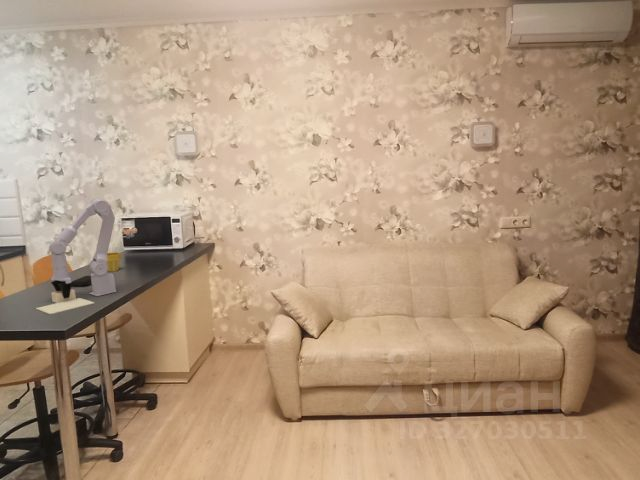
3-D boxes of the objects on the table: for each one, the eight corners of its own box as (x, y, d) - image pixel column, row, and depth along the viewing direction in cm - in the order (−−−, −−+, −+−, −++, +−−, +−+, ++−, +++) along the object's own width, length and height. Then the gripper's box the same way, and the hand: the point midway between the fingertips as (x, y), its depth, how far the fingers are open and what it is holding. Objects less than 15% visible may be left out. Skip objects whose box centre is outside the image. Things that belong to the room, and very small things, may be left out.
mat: (79, 298, 210) (79, 297, 210) (94, 303, 201) (94, 302, 201) (36, 309, 196) (35, 308, 196) (50, 314, 187) (50, 313, 187)
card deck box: (71, 297, 213) (70, 288, 212) (75, 298, 210) (74, 290, 209) (52, 301, 207) (51, 292, 206) (56, 303, 204) (55, 294, 203)
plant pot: (125, 268, 272) (123, 252, 271) (116, 272, 262) (114, 255, 260) (108, 268, 273) (107, 252, 272) (98, 272, 263) (97, 255, 261)
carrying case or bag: (84, 280, 246) (66, 288, 232) (83, 275, 246) (65, 282, 231) (103, 280, 245) (86, 287, 231) (102, 274, 245) (85, 281, 230)
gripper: (43, 267, 207) (47, 296, 210) (57, 270, 198) (61, 301, 201) (60, 264, 213) (63, 293, 215) (74, 267, 204) (78, 297, 206)
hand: (63, 297), depth 208 cm, fingers closed on card deck box, 5 cm apart
